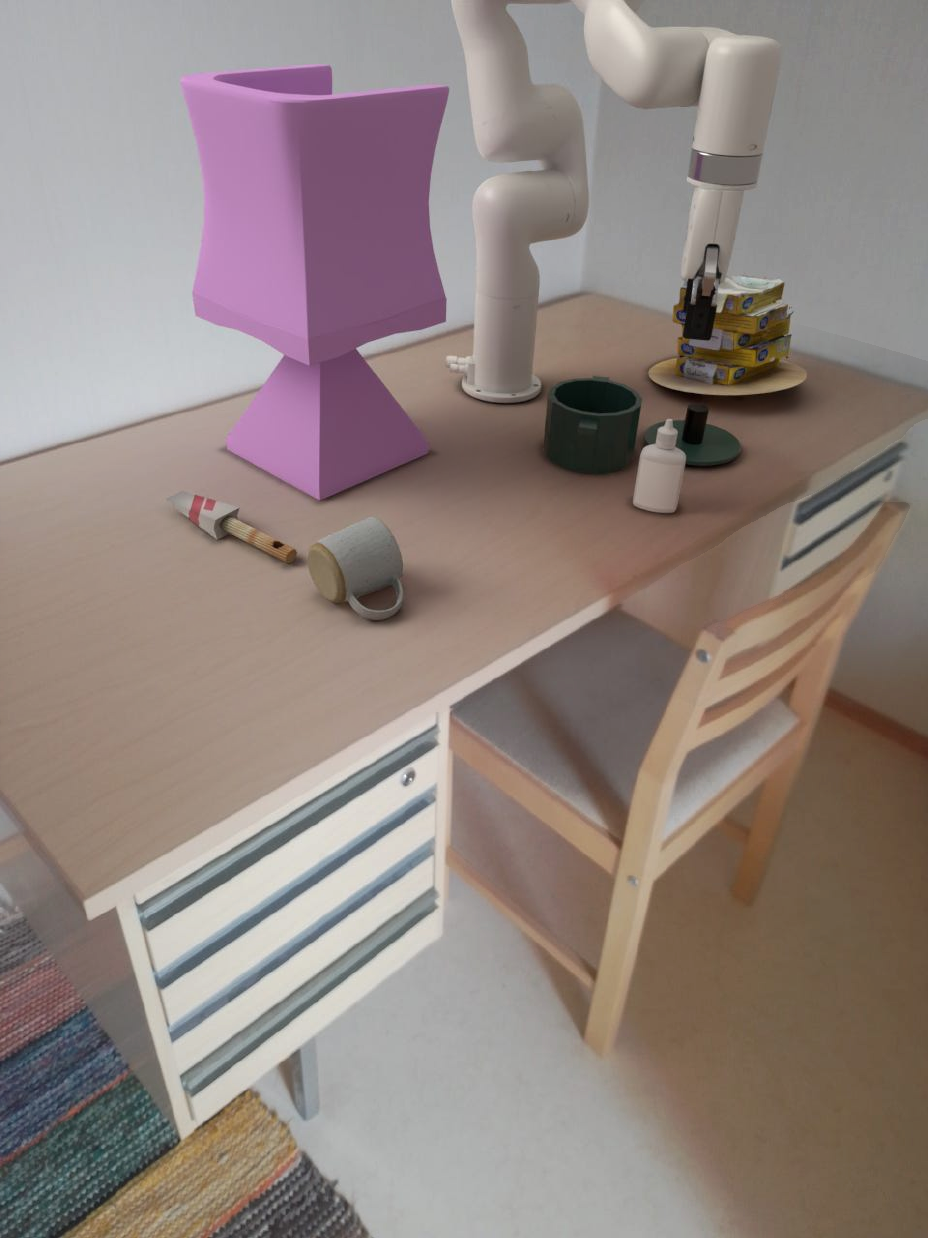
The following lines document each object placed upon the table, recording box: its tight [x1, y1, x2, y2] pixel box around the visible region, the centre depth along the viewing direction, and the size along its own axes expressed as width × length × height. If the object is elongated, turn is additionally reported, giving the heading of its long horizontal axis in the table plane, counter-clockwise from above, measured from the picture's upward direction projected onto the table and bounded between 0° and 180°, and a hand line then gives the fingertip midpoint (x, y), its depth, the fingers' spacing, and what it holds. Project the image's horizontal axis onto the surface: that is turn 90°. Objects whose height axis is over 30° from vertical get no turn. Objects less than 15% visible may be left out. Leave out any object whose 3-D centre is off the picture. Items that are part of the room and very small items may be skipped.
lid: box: [643, 402, 741, 467], centre depth 135 cm, size 14×14×6 cm
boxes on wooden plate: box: [648, 272, 808, 398], centre depth 152 cm, size 25×25×17 cm
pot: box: [542, 375, 643, 475], centre depth 132 cm, size 13×18×8 cm
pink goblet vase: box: [179, 63, 450, 501], centre depth 118 cm, size 22×22×45 cm
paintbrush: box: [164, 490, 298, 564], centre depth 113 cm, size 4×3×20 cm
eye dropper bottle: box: [632, 418, 686, 514], centre depth 119 cm, size 4×6×12 cm
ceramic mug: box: [307, 516, 404, 621], centre depth 102 cm, size 11×8×8 cm
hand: (696, 324), depth 113 cm, fingers open, 9 cm apart
